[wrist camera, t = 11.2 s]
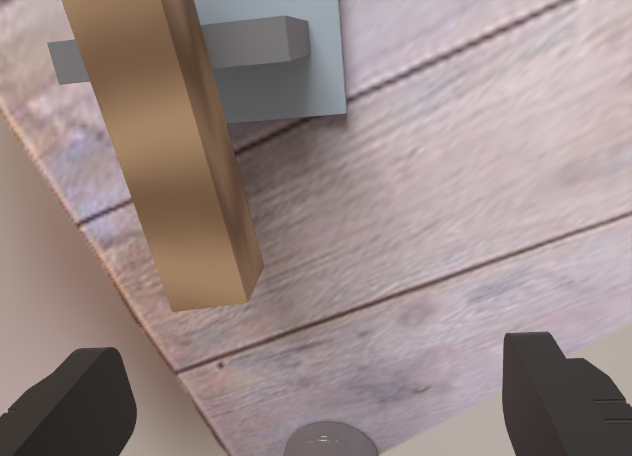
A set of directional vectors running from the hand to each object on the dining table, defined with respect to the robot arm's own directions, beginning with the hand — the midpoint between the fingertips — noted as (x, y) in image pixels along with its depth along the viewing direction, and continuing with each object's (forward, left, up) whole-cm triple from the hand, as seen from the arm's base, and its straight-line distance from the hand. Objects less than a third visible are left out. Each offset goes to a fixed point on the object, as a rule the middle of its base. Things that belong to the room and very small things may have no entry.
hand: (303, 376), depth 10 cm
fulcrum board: (+7, +8, -26) cm, 28 cm away
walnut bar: (+7, +8, -16) cm, 19 cm away
